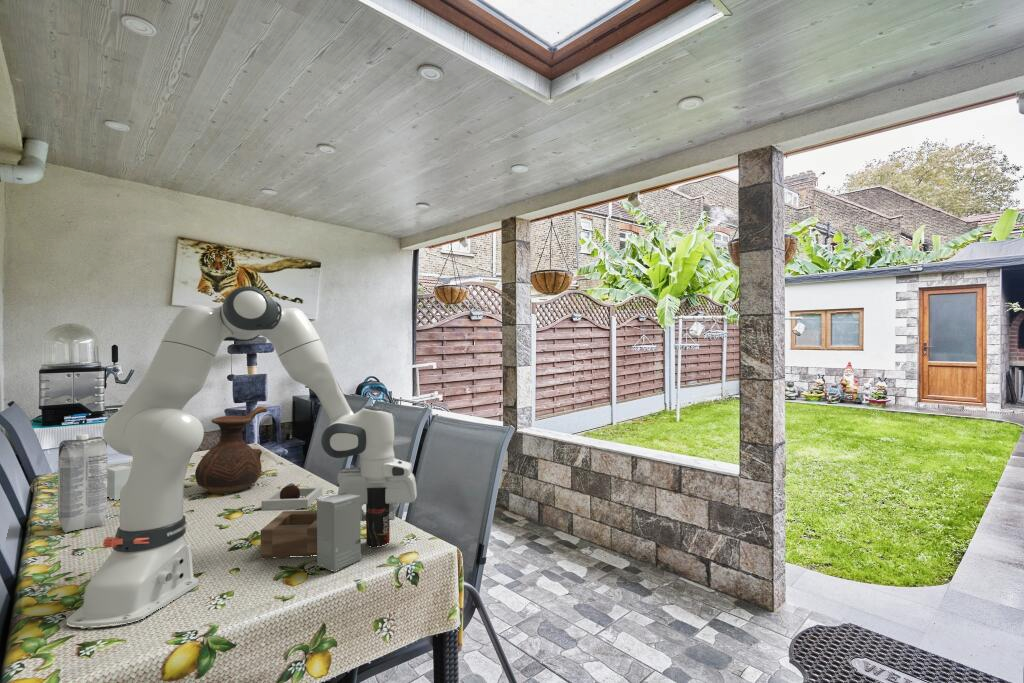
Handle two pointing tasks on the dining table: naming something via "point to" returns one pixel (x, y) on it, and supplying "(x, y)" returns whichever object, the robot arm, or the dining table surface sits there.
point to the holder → (290, 535)
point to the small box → (116, 480)
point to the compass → (290, 492)
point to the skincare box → (338, 531)
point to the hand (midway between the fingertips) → (377, 519)
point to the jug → (230, 458)
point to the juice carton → (82, 482)
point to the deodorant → (377, 518)
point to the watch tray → (278, 504)
